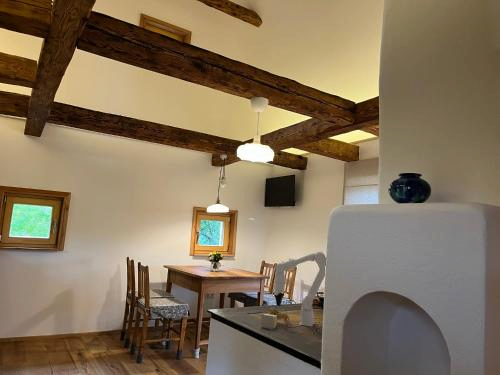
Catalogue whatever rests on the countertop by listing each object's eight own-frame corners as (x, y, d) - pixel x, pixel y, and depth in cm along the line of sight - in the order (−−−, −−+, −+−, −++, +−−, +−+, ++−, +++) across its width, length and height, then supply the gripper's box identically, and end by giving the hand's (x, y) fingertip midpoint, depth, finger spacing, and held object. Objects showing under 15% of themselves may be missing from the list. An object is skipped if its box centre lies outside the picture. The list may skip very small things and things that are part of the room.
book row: (265, 324, 221) (265, 312, 221) (276, 326, 218) (276, 313, 219) (260, 327, 214) (261, 314, 215) (272, 329, 211) (273, 316, 212)
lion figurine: (266, 324, 222) (267, 308, 223) (268, 321, 227) (269, 306, 228) (291, 327, 218) (292, 311, 219) (292, 324, 223) (293, 309, 224)
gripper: (276, 280, 240) (275, 302, 239) (269, 283, 227) (268, 306, 225) (287, 282, 238) (286, 303, 236) (281, 284, 224) (280, 308, 223)
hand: (278, 305), depth 231 cm, fingers closed
